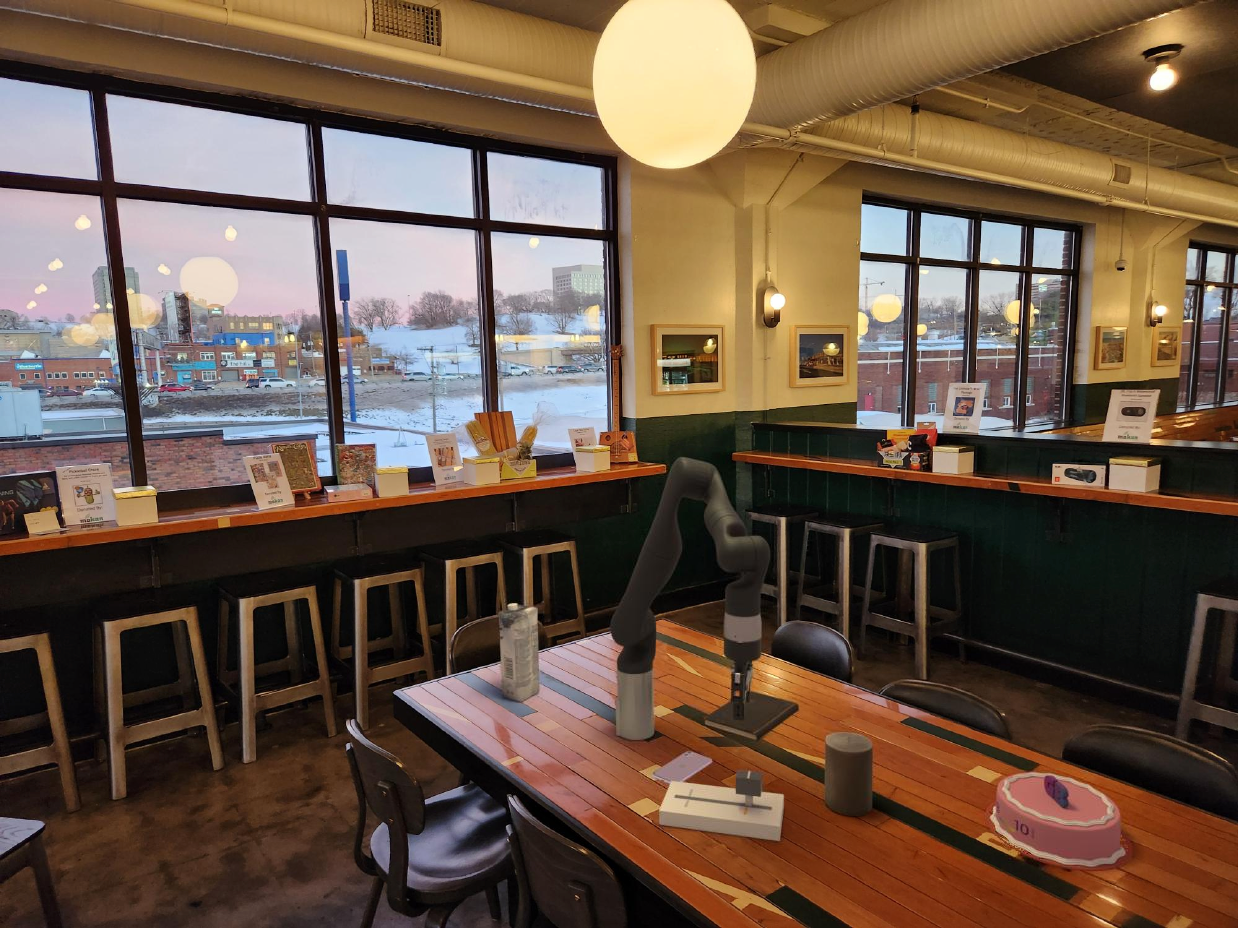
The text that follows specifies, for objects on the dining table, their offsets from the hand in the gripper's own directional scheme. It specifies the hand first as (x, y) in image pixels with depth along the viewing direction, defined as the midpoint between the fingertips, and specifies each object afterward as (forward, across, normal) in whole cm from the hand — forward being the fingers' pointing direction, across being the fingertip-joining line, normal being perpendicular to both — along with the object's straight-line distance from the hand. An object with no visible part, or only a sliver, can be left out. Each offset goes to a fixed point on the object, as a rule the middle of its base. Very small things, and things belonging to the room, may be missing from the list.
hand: (741, 710), depth 155 cm
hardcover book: (+23, -47, -4) cm, 52 cm away
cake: (+22, -9, +60) cm, 65 cm away
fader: (+19, +2, +2) cm, 19 cm away
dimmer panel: (+22, +2, -4) cm, 23 cm away
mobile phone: (+23, -15, -16) cm, 32 cm away
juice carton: (+24, -46, -70) cm, 87 cm away
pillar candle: (+22, -9, +21) cm, 32 cm away
